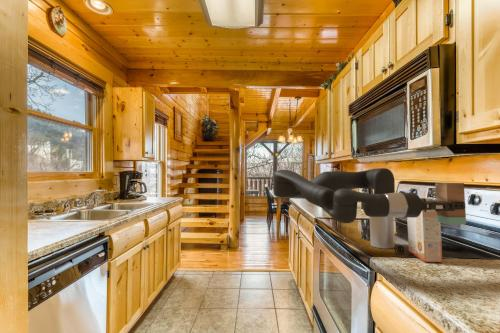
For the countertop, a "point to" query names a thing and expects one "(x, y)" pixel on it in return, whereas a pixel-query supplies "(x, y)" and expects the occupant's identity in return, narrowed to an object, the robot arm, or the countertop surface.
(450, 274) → the countertop surface
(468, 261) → the countertop surface
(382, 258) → the countertop surface
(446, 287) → the countertop surface
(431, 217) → the cracker box
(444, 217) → the walnut block
